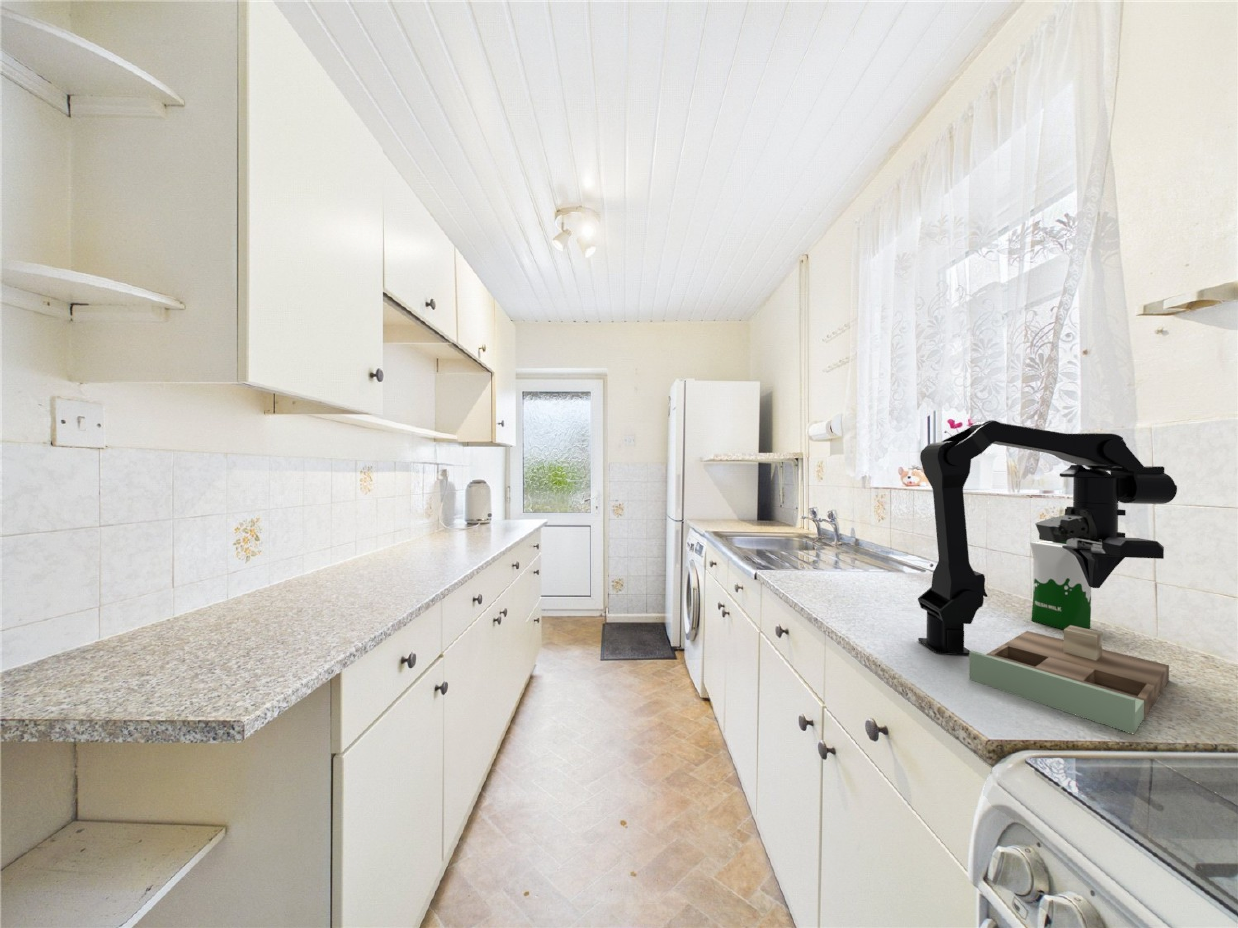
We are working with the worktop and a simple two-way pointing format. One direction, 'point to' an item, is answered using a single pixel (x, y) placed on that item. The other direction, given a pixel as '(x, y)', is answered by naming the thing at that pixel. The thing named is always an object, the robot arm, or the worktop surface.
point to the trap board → (1088, 666)
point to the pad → (1058, 692)
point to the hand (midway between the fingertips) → (1094, 587)
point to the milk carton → (1059, 587)
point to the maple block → (1083, 642)
